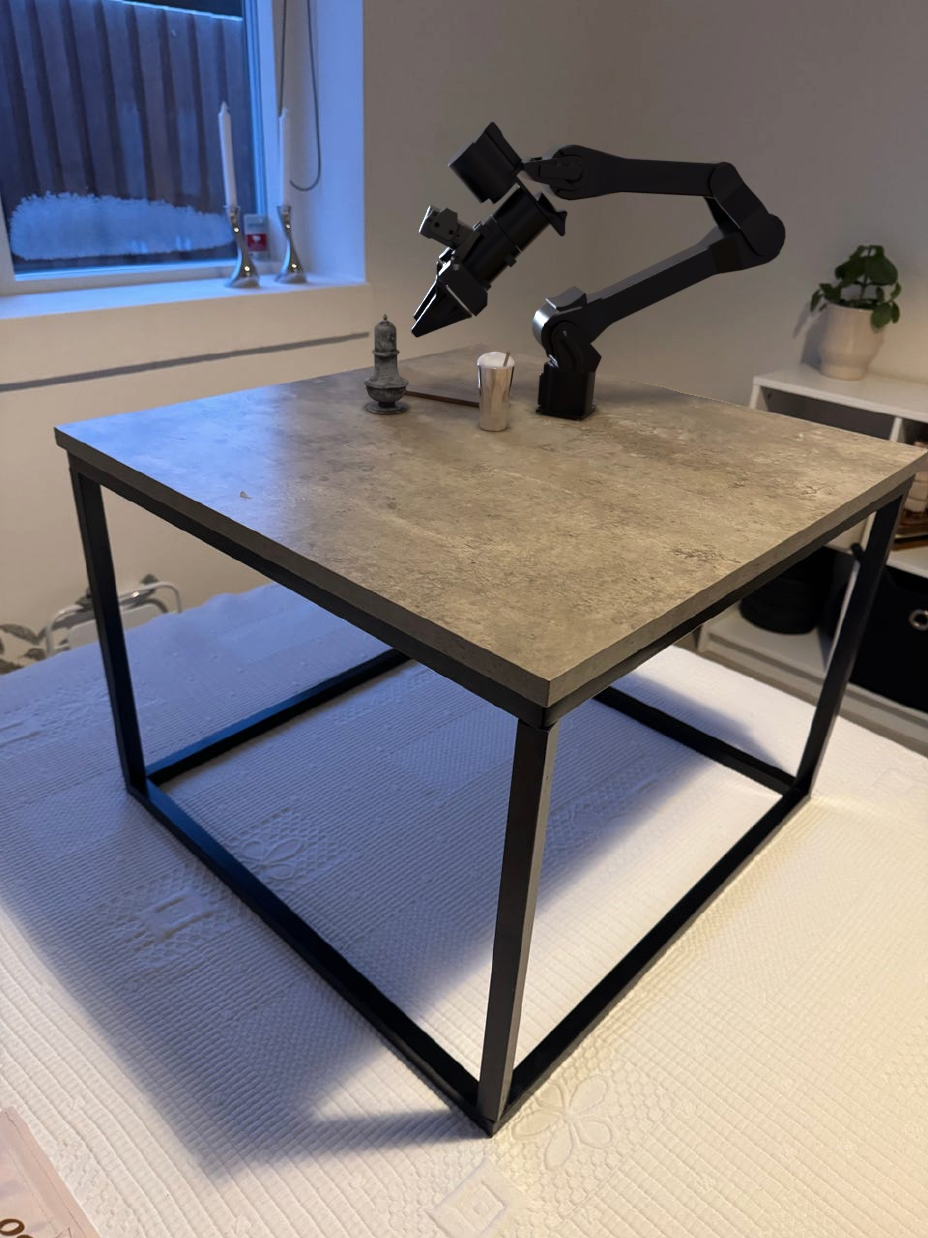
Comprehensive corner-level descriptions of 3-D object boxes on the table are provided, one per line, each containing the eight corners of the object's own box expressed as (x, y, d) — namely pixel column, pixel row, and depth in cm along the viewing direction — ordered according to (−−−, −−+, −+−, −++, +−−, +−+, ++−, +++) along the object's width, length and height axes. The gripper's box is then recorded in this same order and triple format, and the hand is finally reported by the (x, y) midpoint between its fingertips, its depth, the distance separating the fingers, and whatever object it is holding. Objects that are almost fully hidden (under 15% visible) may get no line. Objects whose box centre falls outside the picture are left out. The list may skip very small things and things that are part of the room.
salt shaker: (376, 417, 110) (374, 319, 104) (356, 405, 114) (353, 311, 108) (416, 411, 113) (416, 316, 107) (396, 400, 117) (395, 308, 111)
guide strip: (507, 404, 117) (507, 400, 117) (497, 410, 114) (498, 405, 114) (381, 383, 124) (381, 379, 124) (370, 388, 122) (370, 384, 122)
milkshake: (487, 436, 105) (491, 352, 100) (469, 423, 109) (472, 342, 104) (520, 432, 106) (525, 349, 101) (501, 420, 110) (505, 340, 105)
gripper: (458, 176, 108) (373, 267, 114) (461, 184, 92) (361, 290, 97) (517, 245, 113) (432, 330, 118) (529, 264, 96) (430, 362, 102)
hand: (414, 327), depth 108 cm, fingers open, 9 cm apart
